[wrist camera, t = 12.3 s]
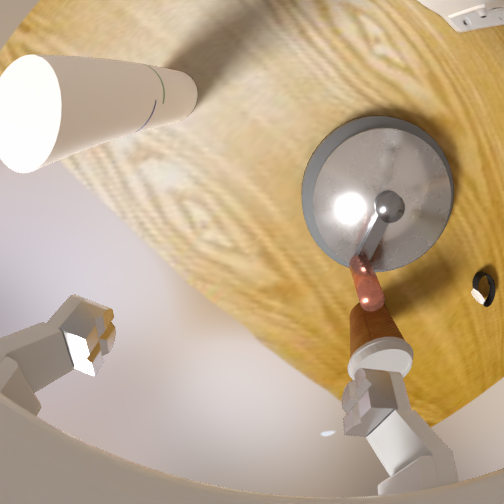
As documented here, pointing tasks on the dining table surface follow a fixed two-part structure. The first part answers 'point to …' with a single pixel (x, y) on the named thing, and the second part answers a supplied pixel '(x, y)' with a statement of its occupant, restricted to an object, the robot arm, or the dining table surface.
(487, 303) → the watch
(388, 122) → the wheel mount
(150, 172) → the dining table surface
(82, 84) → the cylindrical container
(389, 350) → the disposable coffee cup
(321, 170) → the handwheel
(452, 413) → the dining table surface
